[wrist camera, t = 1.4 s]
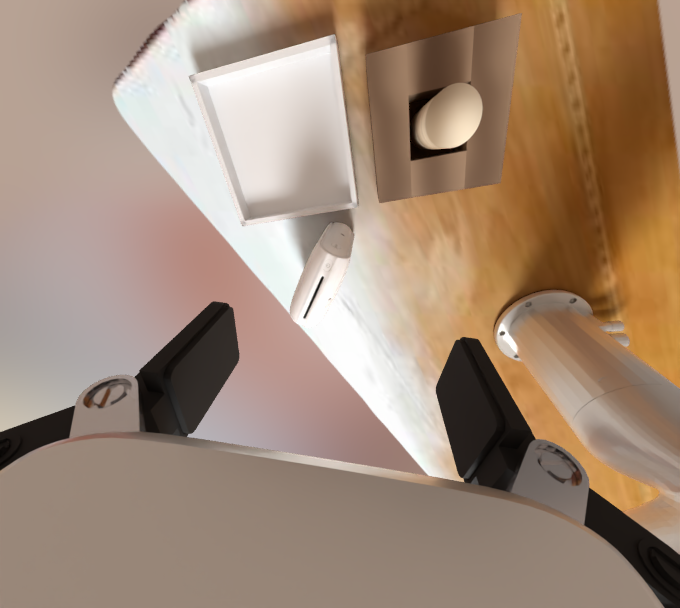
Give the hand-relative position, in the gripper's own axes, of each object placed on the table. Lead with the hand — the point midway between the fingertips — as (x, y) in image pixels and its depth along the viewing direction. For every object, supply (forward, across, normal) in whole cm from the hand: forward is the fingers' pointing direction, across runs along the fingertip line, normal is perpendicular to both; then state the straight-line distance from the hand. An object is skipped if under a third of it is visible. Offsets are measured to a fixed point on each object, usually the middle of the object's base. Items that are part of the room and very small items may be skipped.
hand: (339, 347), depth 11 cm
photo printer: (+26, +4, +6) cm, 27 cm away
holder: (+26, -6, -10) cm, 29 cm away
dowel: (+26, -6, -10) cm, 29 cm away
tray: (+26, +10, -7) cm, 29 cm away
